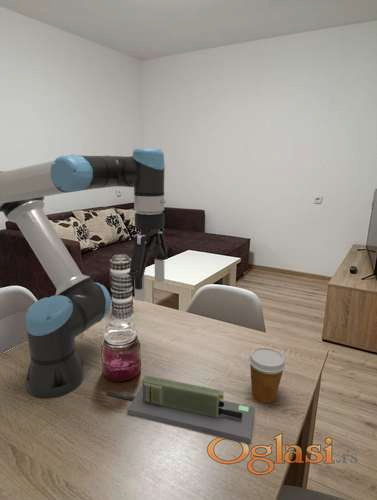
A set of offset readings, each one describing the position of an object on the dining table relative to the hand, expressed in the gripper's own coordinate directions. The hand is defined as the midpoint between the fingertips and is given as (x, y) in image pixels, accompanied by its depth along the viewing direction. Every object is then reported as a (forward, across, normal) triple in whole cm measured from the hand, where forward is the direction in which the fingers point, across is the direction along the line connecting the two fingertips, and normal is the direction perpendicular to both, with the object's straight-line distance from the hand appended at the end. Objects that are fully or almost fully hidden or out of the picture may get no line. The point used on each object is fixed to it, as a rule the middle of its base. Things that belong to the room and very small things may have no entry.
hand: (150, 290), depth 89 cm
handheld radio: (+25, -11, -15) cm, 32 cm away
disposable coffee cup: (+27, +1, -32) cm, 42 cm away
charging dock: (+27, -11, -11) cm, 31 cm away
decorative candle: (+27, +31, +25) cm, 48 cm away
